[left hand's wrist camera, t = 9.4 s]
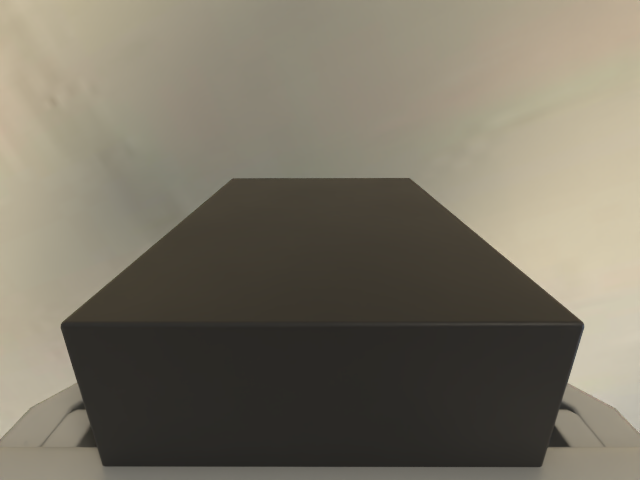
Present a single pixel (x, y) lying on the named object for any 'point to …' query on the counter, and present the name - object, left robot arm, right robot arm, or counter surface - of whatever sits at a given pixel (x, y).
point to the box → (322, 337)
